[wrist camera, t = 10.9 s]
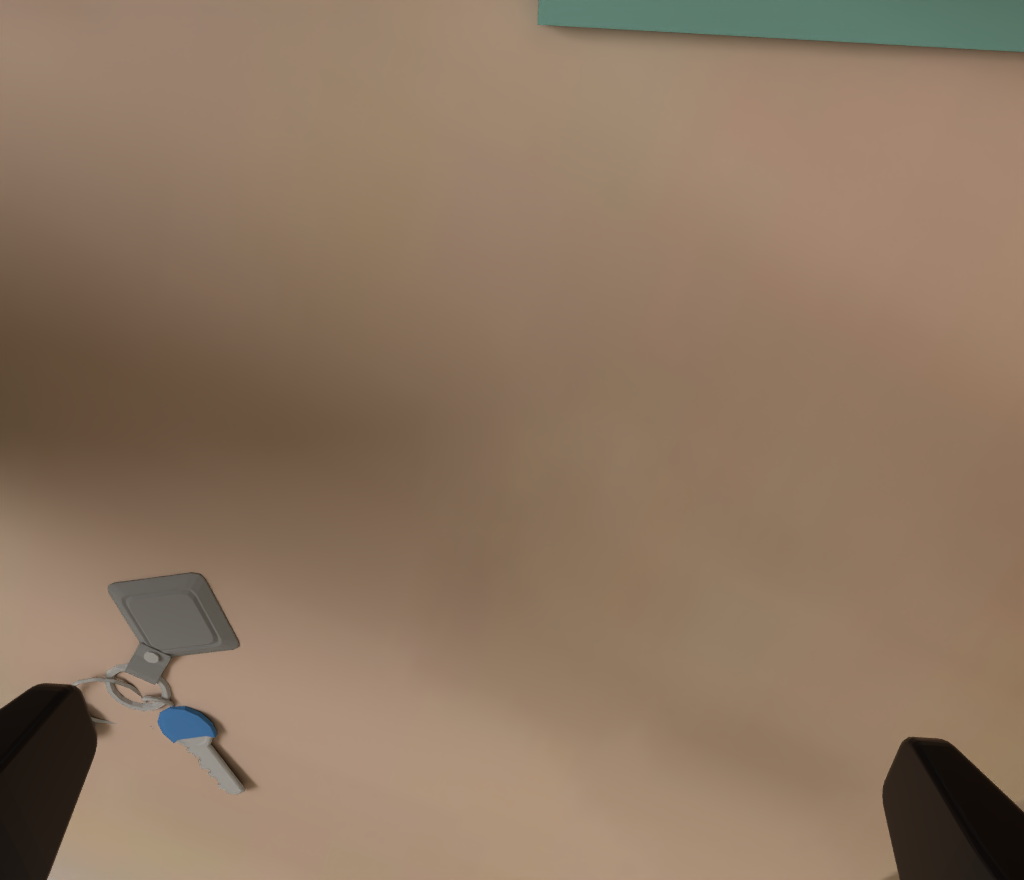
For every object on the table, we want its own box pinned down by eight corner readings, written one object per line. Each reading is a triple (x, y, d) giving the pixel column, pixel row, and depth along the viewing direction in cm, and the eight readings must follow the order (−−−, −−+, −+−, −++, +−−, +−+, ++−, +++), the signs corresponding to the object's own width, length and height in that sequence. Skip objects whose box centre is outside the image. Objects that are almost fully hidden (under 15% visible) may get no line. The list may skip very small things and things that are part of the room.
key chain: (150, 532, 23) (137, 549, 23) (373, 667, 26) (367, 686, 25) (-20, 747, 29) (-34, 766, 29) (175, 840, 32) (166, 860, 31)
